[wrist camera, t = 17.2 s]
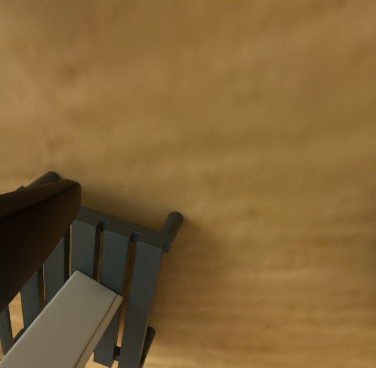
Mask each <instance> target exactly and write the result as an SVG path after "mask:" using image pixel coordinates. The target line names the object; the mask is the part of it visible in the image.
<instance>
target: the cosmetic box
mask: <svg viewBox="0 0 376 368" xmlns="http://www.w3.org/2000/svg"><path fill="white" fill-rule="evenodd" d="M122 300H123V297H121V296H120V295H118V294H116V293H115V292H113V291H111V290H110V289H108V288H106V287H105V286H103V285H101V284H100V283H98V282H96V281H95V280H93V279H91V278H90V277H88V276H86V275H85V274H83V273H81V272H80V271H75V272H74V274H73V275H72V276H71V277H70V278H69V279H68V281H67V282H66V283H65V284H64V285H63V287H62V288H61V289H60V290H59V291H58V293H57V294H56V295H55V296H54V297H53V299H52V300H51V301H50V302H49V303H48V305H47V306H46V307H45V308H44V309H43V311H42V312H41V313H40V314H39V315H38V317H37V318H36V319H35V320H34V321H33V323H32V324H31V325H30V326H29V327H28V329H27V330H26V331H25V332H24V333H23V335H22V336H21V337H20V338H19V339H18V341H17V342H16V343H15V344H14V345H13V347H12V348H11V349H10V350H9V351H8V353H7V354H6V355H5V356H4V357H3V359H2V360H1V361H0V368H84V367H85V365H86V363H87V361H88V360H89V358H90V356H91V354H92V353H93V351H94V349H95V347H96V346H97V344H98V342H99V340H100V339H101V337H102V335H103V334H104V332H105V330H106V328H107V327H108V325H109V323H110V321H111V320H112V318H113V316H114V314H115V313H116V311H117V309H118V307H119V305H120V304H121V302H122Z"/></svg>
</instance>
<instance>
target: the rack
mask: <svg viewBox="0 0 376 368" xmlns="http://www.w3.org/2000/svg"><path fill="white" fill-rule="evenodd" d="M55 181H59V177H58V175H57V174H56V173H54V172H47V173H46V174H45V175H43V176H42V177H40V178H39V179H37V180H36V181H34V182H33V183H31V184H30V185H28V186H27V187H23V186H21V187H20V188H18V189H17V190H15V191H18V190H22V189H26V188H30V187H34V186H39V185H43V184H47V183H51V182H55ZM182 222H183V217H182V215H181V214H180V213H178V212H171V213H170V214H169V216H168V218H167V219H166V221H165V223H164V225H163V227H162V228H161V230H160V232H158V231H155V230H152V229H149V228H146V227H143V226H140V225H137V224H134V223H131V222H128V221H125V220H122V219H119V218H116V217H113V216H110V215H107V214H104V213H101V212H98V211H95V210H92V209H89V208H86V207H83V206H80V210H79V213H78V215H77V216H76V218H75V219H74V221H73V222H72V263H71V276H72V275H73V274H74V272H75V271H80V272H81V273H83V274H85V275H86V276H88V277H90V278H91V279H93V280H95V281H96V282H97V271H98V258H99V245H100V232H101V231H102V232H104V242H103V254H102V265H101V277H100V284H101V285H103V286H105V287H106V288H108V289H110V290H111V291H113V292H115V293H116V294H118V295H120V296H121V297H123V299H124V292H125V285H126V278H127V271H128V264H129V257H130V251H131V244H132V242H134V243H137V248H136V254H135V260H134V267H133V273H132V280H131V286H130V292H129V299H128V305H127V311H126V318H125V324H124V330H123V337H122V343H121V347H118V346H117V340H118V333H119V326H120V319H121V312H122V306H123V300H122V302H121V304H120V305H119V307H118V309H117V311H116V313H115V314H114V316H113V318H112V320H111V321H110V323H109V325H108V327H107V328H106V330H105V332H104V334H103V335H102V337H101V339H100V340H99V342H98V344H97V346H96V347H95V349H94V351H93V352H94V360H93V361H94V362H97V363H99V364H102V365H104V366H107V367H109V368H111V367H112V365H113V363H114V360H116V361H118V368H143V365H144V362H145V359H146V356H147V354H148V351H149V349H150V346H151V344H152V341H153V338H154V336H155V330H154V329H153V328H150V327H148V323H149V318H150V314H151V309H152V305H153V300H154V295H155V291H156V286H157V282H158V277H159V273H160V268H161V264H162V259H163V255H164V253H167V254H168V253H169V251H170V249H171V247H172V243H173V241H174V239H175V237H176V235H177V233H178V230H179V228H180V226H181V224H182ZM69 254H70V227H69V228H68V230H67V231H66V233H65V234H64V236H63V237H62V239H61V240H60V242H59V243H58V245H57V246H56V247H55V249H54V250H53V252H52V253H51V255H50V256H49V257H48V258H47V259H46V261H45V262H44V278H43V264H42V265H41V267H40V268H39V269H38V270H37V271H36V273H35V274H34V275H33V276H32V277H31V279H30V280H29V281H28V282H27V283H26V284H25V286H24V287H23V288H22V289H21V290H20V294H21V304H22V313H23V323H24V328H22V329H21V330H20V331H19V332H18V334H17V335H16V336H15V337H14V339H13V335H12V328H11V321H10V313H9V306H7V307H6V308H5V309H4V311H3V312H2V313H1V314H0V340H1V345H2V351H3V355H4V356H5V355H6V354H7V353H8V351H9V350H10V349H11V348H12V347H13V345H14V344H15V343H16V342H17V341H18V339H19V338H20V337H21V336H22V335H23V333H24V332H25V331H26V330H27V329H28V327H29V326H30V325H31V324H32V323H33V321H34V320H35V319H36V318H37V317H38V315H39V314H40V313H41V312H42V311H43V309H44V308H45V307H46V306H47V305H48V303H49V302H50V301H51V300H52V299H53V297H54V296H55V295H56V294H57V293H58V291H59V290H60V289H61V288H62V287H63V285H64V284H65V283H66V282H67V281H68V279H69ZM44 283H45V299H44Z"/></svg>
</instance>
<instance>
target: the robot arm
mask: <svg viewBox="0 0 376 368" xmlns="http://www.w3.org/2000/svg"><path fill="white" fill-rule="evenodd" d="M80 206H81V185H80V184H79V183H78V182H75V181H72V180H69V179H64V180H60V181H55V182H51V183H47V184H43V185H39V186H34V187H30V188H26V189H22V190H18V191H14V192H9V193H5V194H1V195H0V314H1V313H2V312H3V311H4V309H5V308H6V307H7V306H8V305H9V303H10V302H11V301H12V300H13V299H14V297H15V296H16V295H17V294H18V293H19V292H20V290H21V289H22V288H23V287H24V286H25V284H26V283H27V282H28V281H29V280H30V279H31V277H32V276H33V275H34V274H35V273H36V271H37V270H38V269H39V268H40V267H41V265H42V264H43V263H44V262H45V261H46V259H47V258H48V257H49V256H50V255H51V253H52V252H53V250H54V249H55V247H56V246H57V245H58V243H59V242H60V240H61V239H62V237H63V236H64V234H65V233H66V231H67V230H68V228H69V227H70V225H71V224H72V222H73V221H74V219H75V218H76V216H77V215H78V213H79V210H80Z"/></svg>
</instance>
